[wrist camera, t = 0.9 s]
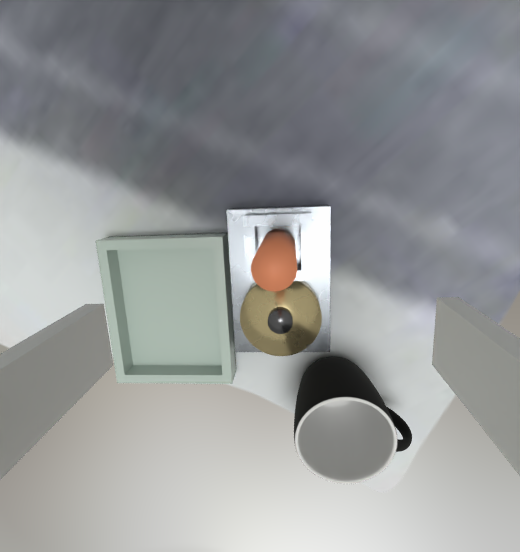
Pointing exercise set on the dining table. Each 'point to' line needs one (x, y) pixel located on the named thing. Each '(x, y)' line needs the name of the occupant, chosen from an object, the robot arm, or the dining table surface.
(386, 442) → the mug
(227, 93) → the dining table surface
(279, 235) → the pin
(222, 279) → the tray
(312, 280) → the pulley block
